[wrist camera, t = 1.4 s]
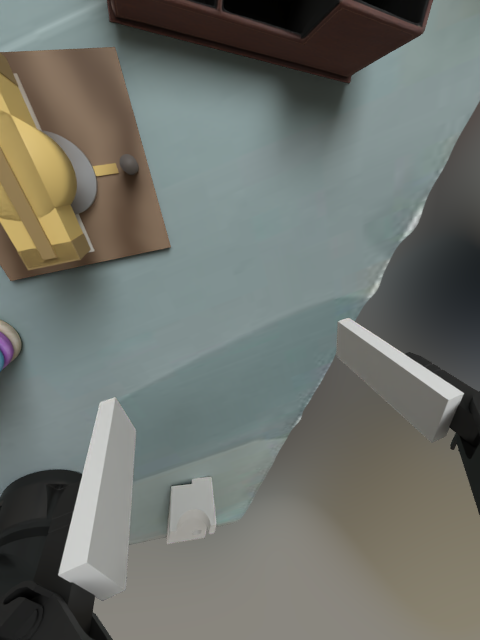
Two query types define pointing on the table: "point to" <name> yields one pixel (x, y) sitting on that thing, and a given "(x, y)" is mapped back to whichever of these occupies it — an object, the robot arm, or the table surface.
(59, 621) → the robot arm
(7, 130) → the yellow block with ball
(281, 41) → the desk organizer
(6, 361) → the stacking toy
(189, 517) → the white mounting bracket
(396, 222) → the table surface
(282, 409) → the table surface
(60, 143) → the base
